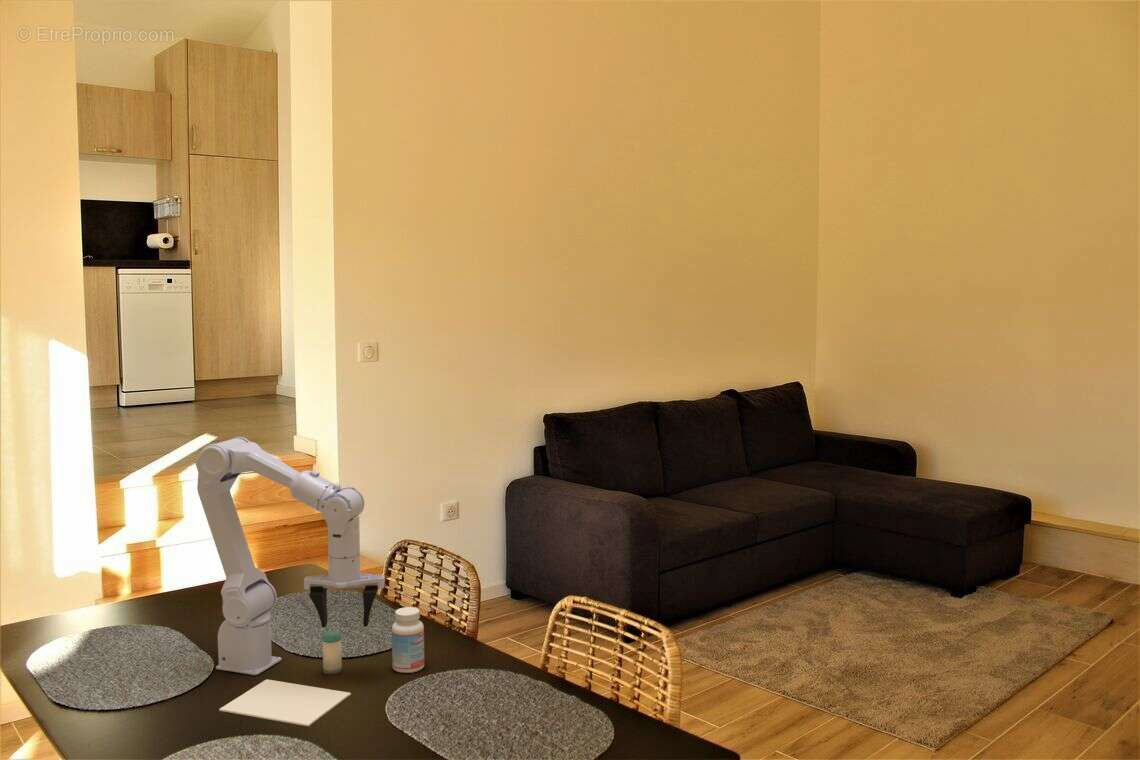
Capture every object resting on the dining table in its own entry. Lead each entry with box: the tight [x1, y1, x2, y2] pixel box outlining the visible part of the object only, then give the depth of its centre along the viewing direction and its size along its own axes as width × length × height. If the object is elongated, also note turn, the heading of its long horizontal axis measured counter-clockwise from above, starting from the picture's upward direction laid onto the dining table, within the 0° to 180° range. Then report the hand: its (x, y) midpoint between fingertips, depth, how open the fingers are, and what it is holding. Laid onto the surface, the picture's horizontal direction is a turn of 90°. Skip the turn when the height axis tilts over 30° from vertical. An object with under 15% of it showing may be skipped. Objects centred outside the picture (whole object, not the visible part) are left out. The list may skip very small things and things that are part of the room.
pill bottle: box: [391, 606, 425, 674], centre depth 181 cm, size 6×6×11 cm
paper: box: [218, 679, 352, 727], centre depth 167 cm, size 18×13×1 cm
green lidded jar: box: [321, 630, 343, 675], centre depth 180 cm, size 4×4×7 cm
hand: (345, 625), depth 177 cm, fingers open, 7 cm apart
